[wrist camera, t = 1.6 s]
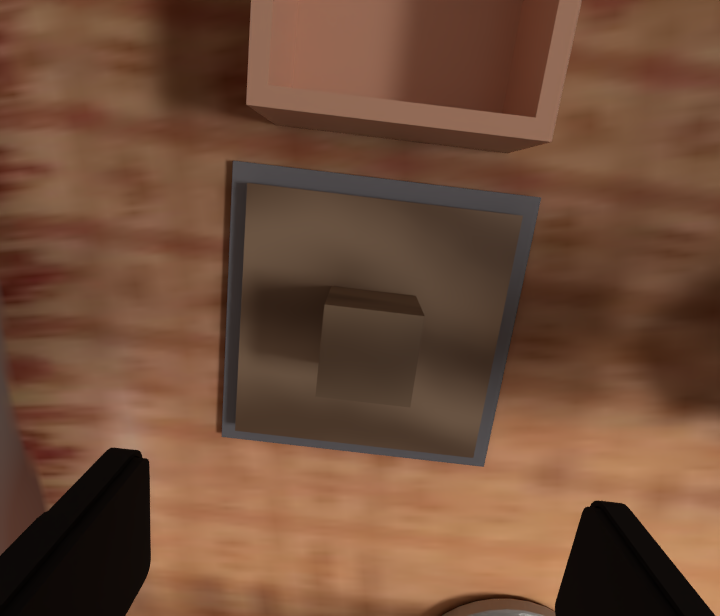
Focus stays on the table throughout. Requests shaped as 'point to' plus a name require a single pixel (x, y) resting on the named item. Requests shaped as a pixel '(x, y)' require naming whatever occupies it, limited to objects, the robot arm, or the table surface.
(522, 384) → the table surface
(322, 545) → the table surface
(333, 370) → the walnut lid
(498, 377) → the rubber mat
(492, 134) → the terracotta box
